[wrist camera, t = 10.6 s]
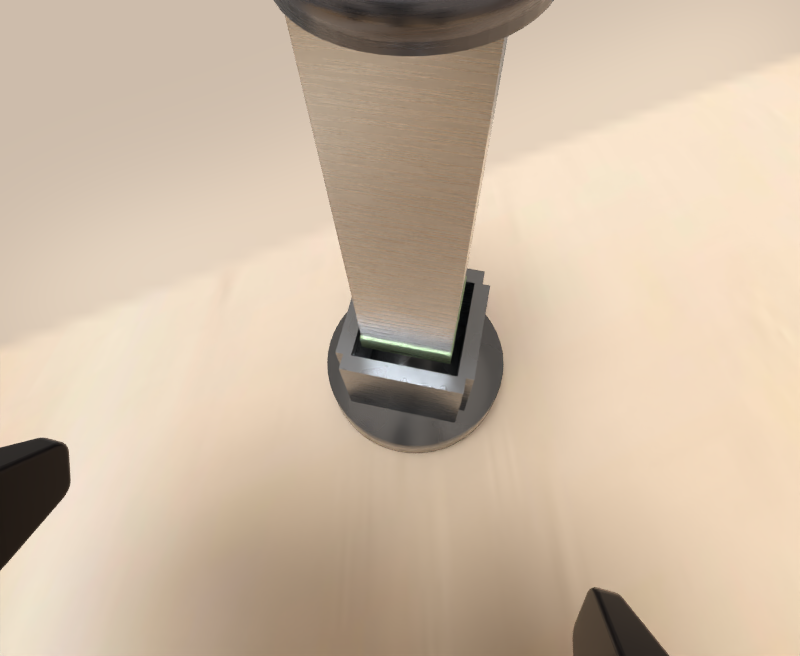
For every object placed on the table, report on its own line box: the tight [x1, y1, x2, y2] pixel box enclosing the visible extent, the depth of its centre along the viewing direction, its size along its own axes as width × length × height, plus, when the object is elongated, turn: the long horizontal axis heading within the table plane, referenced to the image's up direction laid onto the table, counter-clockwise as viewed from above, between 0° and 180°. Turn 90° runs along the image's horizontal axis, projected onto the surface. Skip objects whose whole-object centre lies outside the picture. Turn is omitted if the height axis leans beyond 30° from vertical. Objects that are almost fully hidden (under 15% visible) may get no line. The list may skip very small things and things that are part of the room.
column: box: [274, 0, 554, 364], centre depth 13 cm, size 5×5×13 cm
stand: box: [327, 269, 503, 453], centre depth 21 cm, size 8×8×6 cm
